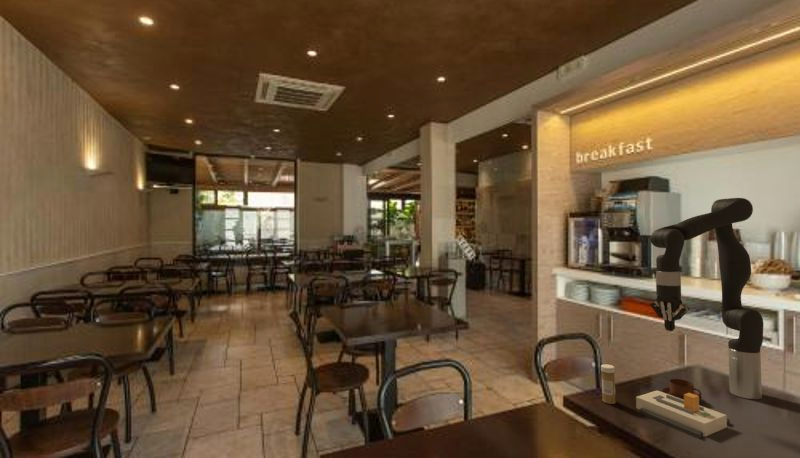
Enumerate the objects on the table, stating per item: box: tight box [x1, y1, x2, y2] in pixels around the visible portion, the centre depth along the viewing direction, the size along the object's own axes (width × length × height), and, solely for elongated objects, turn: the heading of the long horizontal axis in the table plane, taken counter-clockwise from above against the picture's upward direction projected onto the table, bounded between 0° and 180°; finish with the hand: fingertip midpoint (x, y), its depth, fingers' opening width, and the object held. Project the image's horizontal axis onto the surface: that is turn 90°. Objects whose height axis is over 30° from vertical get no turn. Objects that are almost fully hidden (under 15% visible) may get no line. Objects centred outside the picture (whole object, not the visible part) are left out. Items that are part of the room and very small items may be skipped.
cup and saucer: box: [662, 378, 703, 402], centre depth 147 cm, size 12×12×6 cm
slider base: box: [635, 390, 728, 437], centre depth 133 cm, size 12×22×5 cm, turn 25°
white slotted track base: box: [638, 408, 731, 440], centre depth 132 cm, size 19×20×1 cm
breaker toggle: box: [684, 393, 700, 412], centre depth 129 cm, size 3×3×5 cm
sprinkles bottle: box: [600, 363, 616, 405], centre depth 146 cm, size 5×5×13 cm
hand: (669, 330), depth 143 cm, fingers closed
